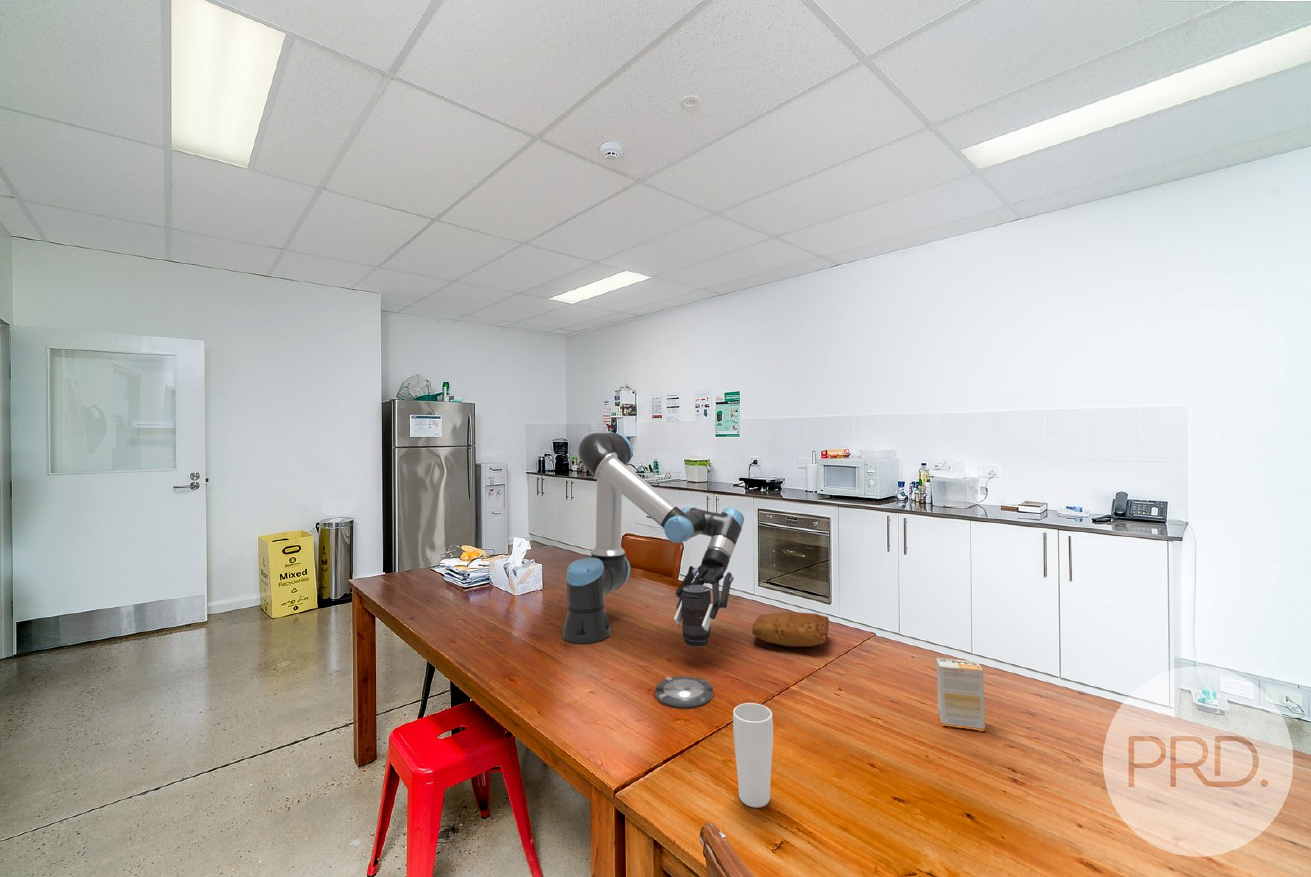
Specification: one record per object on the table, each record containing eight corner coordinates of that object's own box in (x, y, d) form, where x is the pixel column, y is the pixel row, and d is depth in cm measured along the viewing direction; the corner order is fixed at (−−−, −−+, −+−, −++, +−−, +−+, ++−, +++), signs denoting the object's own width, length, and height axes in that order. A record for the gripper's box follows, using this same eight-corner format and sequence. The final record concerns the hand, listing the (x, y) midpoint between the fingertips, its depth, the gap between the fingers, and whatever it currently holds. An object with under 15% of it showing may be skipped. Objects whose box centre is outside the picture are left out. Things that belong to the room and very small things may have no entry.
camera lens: (711, 636, 152) (710, 584, 152) (710, 648, 144) (710, 592, 144) (682, 635, 153) (682, 583, 153) (680, 647, 145) (680, 592, 145)
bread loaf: (833, 638, 164) (832, 612, 164) (825, 660, 148) (825, 631, 148) (761, 629, 173) (761, 604, 173) (747, 648, 158) (747, 621, 158)
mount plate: (644, 691, 132) (644, 685, 132) (688, 676, 140) (688, 670, 140) (679, 714, 121) (679, 708, 121) (725, 696, 129) (724, 689, 129)
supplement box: (979, 721, 115) (978, 660, 115) (985, 733, 111) (984, 670, 111) (937, 715, 118) (935, 656, 118) (941, 727, 113) (939, 665, 113)
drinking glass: (730, 787, 95) (728, 703, 95) (767, 784, 96) (766, 701, 96) (739, 814, 89) (737, 723, 88) (779, 811, 89) (777, 721, 89)
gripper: (754, 566, 155) (729, 639, 142) (692, 557, 167) (663, 624, 154) (746, 551, 150) (720, 626, 137) (683, 543, 162) (653, 610, 149)
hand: (690, 624), depth 145 cm, fingers closed on camera lens, 8 cm apart
